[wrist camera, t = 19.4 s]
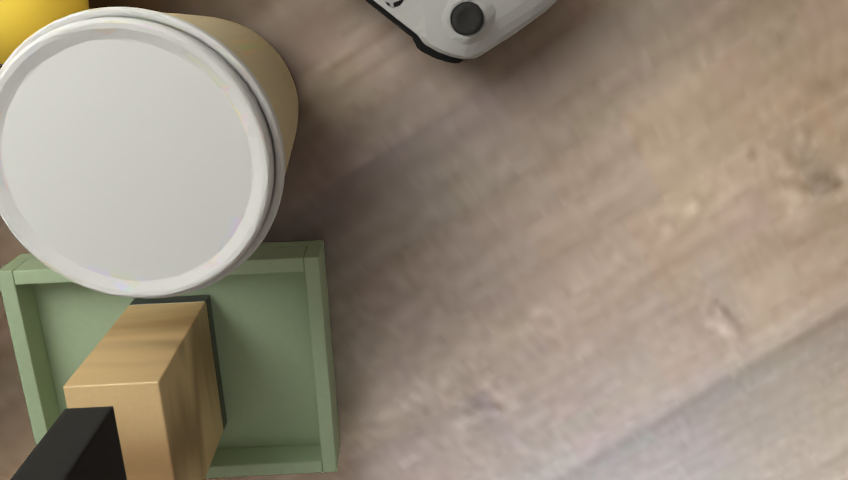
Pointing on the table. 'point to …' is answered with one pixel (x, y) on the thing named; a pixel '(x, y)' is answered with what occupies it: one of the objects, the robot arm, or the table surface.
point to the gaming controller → (460, 23)
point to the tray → (236, 344)
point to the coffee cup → (144, 148)
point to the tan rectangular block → (158, 387)
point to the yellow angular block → (30, 19)
